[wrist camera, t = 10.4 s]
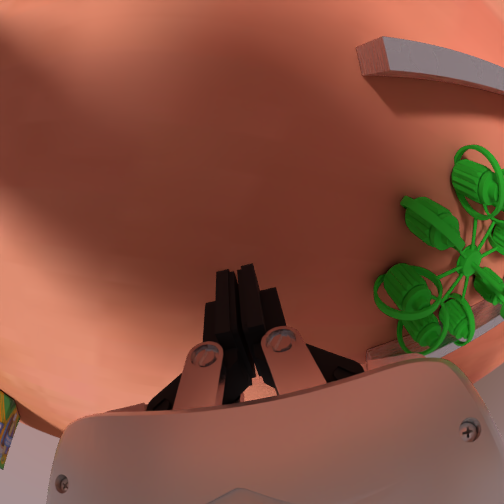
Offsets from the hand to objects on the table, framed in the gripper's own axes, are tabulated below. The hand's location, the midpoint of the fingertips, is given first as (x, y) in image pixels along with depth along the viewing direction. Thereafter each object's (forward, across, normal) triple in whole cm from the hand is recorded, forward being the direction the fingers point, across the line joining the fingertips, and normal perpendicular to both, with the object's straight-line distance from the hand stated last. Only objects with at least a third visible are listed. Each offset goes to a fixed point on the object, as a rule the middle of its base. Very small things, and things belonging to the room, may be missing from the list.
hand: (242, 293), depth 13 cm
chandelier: (+2, -14, +2) cm, 15 cm away
